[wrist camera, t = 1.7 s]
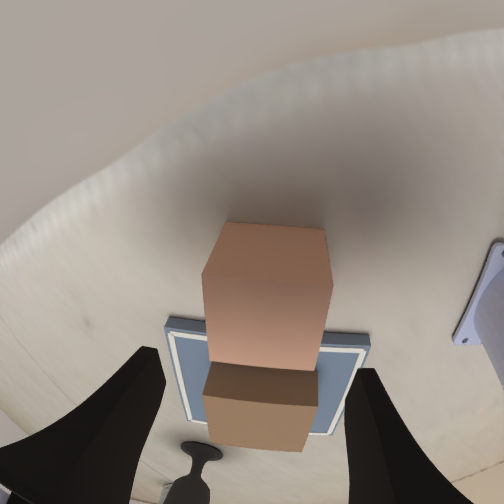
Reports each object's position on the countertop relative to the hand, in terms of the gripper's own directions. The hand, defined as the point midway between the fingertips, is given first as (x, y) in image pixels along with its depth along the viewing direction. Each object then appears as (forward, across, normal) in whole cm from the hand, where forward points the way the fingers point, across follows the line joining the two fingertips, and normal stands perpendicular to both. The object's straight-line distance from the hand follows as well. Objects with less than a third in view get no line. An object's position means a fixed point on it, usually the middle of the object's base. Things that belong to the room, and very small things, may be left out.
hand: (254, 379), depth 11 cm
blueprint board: (+8, 0, +10) cm, 13 cm away
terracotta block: (+8, 0, 0) cm, 8 cm away
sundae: (+8, +6, +26) cm, 27 cm away
